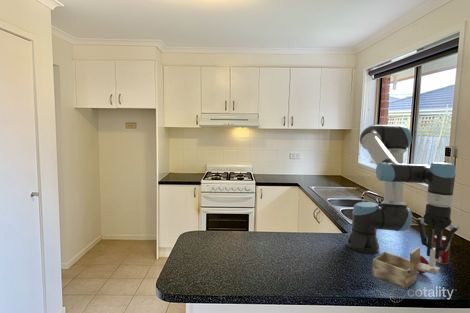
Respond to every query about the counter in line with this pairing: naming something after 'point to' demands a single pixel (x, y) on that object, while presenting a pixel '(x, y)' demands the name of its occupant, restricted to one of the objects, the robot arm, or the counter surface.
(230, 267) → the counter surface
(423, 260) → the onion
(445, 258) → the soda can
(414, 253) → the lid
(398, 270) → the wooden box
